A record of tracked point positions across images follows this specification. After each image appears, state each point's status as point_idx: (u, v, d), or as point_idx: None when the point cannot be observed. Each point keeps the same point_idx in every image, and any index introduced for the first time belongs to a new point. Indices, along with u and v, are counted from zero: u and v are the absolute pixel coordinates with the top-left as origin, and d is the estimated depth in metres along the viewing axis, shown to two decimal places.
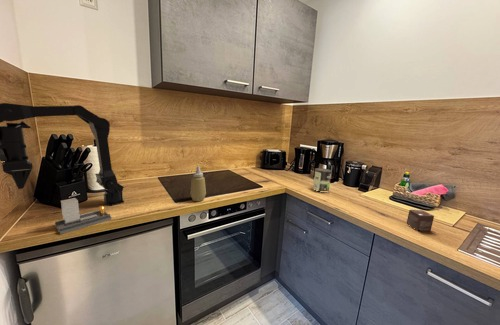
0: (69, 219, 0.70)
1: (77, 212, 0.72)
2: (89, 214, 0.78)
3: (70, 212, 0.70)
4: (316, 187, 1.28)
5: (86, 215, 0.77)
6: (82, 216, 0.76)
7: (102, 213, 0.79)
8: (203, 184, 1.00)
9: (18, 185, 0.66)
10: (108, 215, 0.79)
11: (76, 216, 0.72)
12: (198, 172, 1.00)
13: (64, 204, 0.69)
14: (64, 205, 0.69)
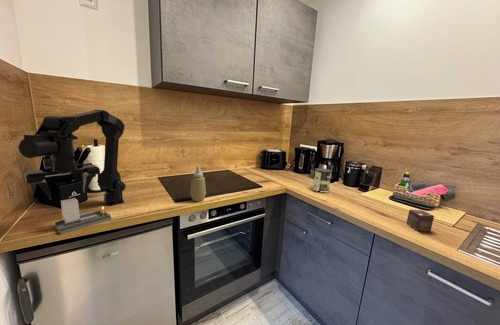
0: (69, 219, 0.70)
1: (77, 212, 0.72)
2: (89, 214, 0.78)
3: (70, 212, 0.70)
4: (316, 187, 1.28)
5: (86, 215, 0.77)
6: (82, 216, 0.76)
7: (102, 213, 0.79)
8: (203, 184, 1.00)
9: (47, 195, 0.67)
10: (108, 215, 0.79)
11: (76, 216, 0.72)
12: (198, 172, 1.00)
13: (64, 204, 0.69)
14: (64, 205, 0.69)
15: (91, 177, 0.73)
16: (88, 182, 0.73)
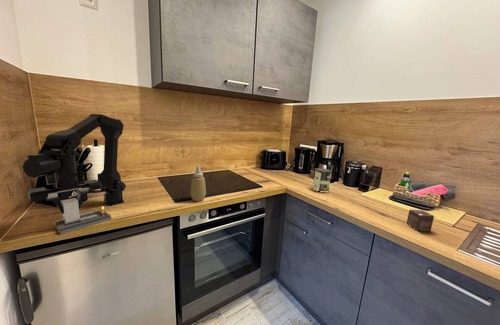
0: (69, 219, 0.70)
1: (77, 212, 0.72)
2: (89, 214, 0.78)
3: (70, 212, 0.70)
4: (316, 187, 1.28)
5: (86, 215, 0.77)
6: (82, 216, 0.76)
7: (102, 213, 0.79)
8: (203, 184, 1.00)
9: None
10: (108, 215, 0.79)
11: (76, 216, 0.72)
12: (198, 172, 1.00)
13: (64, 204, 0.69)
14: (64, 205, 0.69)
15: (85, 194, 0.72)
16: (82, 199, 0.72)
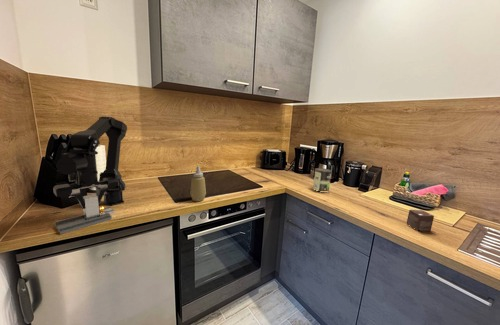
0: (89, 214, 0.75)
1: (97, 207, 0.77)
2: (107, 209, 0.82)
3: (91, 207, 0.75)
4: (316, 187, 1.28)
5: (104, 210, 0.82)
6: None
7: None
8: (203, 184, 1.00)
9: (81, 205, 0.74)
10: (108, 215, 0.79)
11: (96, 211, 0.77)
12: (198, 172, 1.00)
13: (85, 199, 0.73)
14: (85, 200, 0.73)
15: (104, 190, 0.77)
16: (101, 195, 0.77)
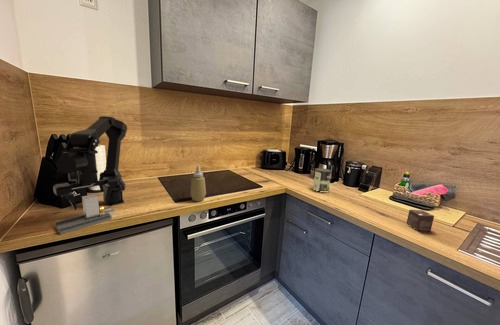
0: (89, 214, 0.75)
1: (97, 207, 0.77)
2: (107, 209, 0.82)
3: (91, 207, 0.75)
4: (316, 187, 1.28)
5: (104, 210, 0.82)
6: None
7: None
8: (203, 184, 1.00)
9: None
10: (108, 215, 0.79)
11: (96, 211, 0.77)
12: (198, 172, 1.00)
13: (86, 199, 0.73)
14: (86, 200, 0.73)
15: (111, 188, 0.79)
16: (108, 193, 0.79)
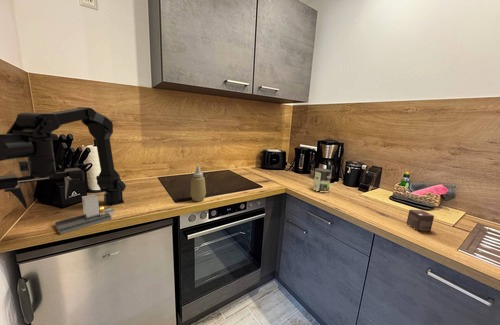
0: (89, 214, 0.75)
1: (97, 207, 0.77)
2: (107, 209, 0.82)
3: (91, 207, 0.75)
4: (316, 187, 1.28)
5: (104, 210, 0.82)
6: None
7: None
8: (203, 184, 1.00)
9: (22, 203, 0.59)
10: (108, 215, 0.79)
11: (96, 211, 0.77)
12: (198, 172, 1.00)
13: (86, 199, 0.73)
14: (86, 200, 0.73)
15: (74, 182, 0.65)
16: (70, 187, 0.65)
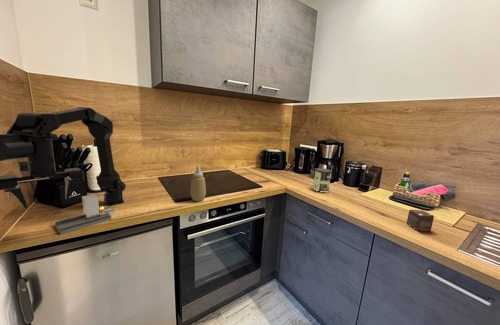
0: (89, 214, 0.75)
1: (97, 207, 0.77)
2: (107, 209, 0.82)
3: (91, 207, 0.75)
4: (316, 187, 1.28)
5: (104, 210, 0.82)
6: None
7: None
8: (203, 184, 1.00)
9: (22, 203, 0.59)
10: (108, 215, 0.79)
11: (96, 211, 0.77)
12: (198, 172, 1.00)
13: (86, 199, 0.73)
14: (86, 200, 0.73)
15: (74, 182, 0.65)
16: (70, 187, 0.65)
